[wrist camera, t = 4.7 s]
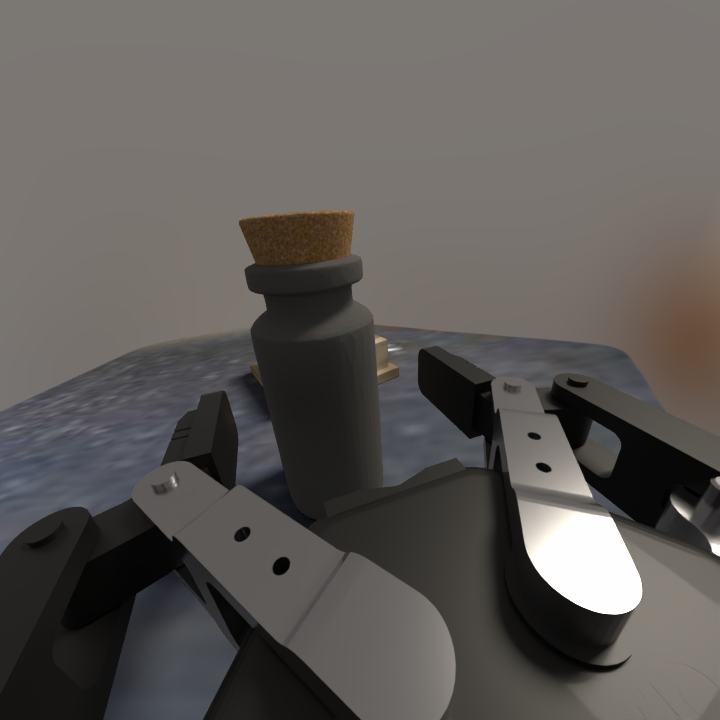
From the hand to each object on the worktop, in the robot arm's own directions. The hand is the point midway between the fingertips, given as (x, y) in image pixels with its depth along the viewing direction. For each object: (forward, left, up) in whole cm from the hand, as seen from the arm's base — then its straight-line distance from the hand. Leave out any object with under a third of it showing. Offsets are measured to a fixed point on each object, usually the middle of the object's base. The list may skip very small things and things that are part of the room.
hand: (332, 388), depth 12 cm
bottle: (+1, +3, -9) cm, 9 cm away
